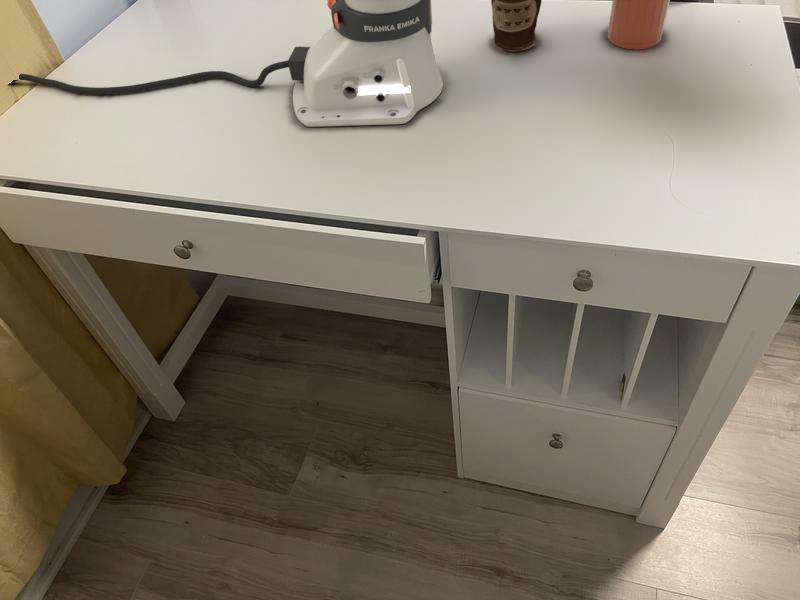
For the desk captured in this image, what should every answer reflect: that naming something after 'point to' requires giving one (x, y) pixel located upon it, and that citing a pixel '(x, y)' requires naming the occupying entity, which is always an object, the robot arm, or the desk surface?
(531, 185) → the desk surface
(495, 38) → the coffee cup
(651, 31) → the pen cup
